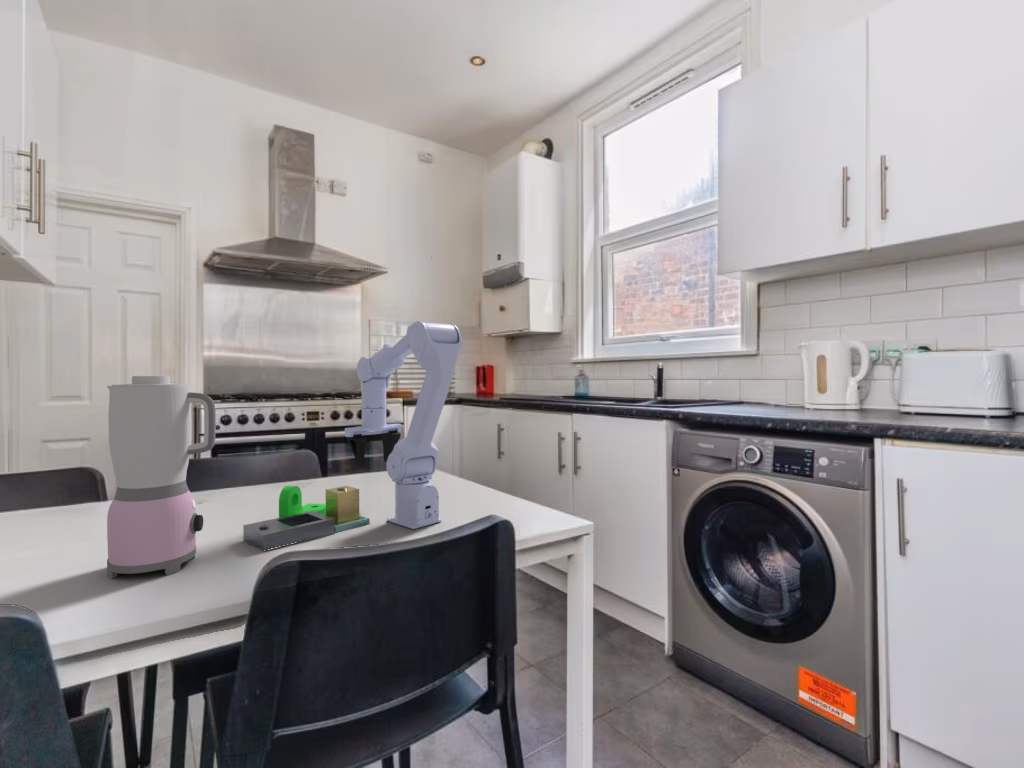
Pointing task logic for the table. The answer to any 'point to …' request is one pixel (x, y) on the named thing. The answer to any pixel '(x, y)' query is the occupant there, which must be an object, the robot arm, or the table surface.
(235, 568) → the table surface
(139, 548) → the blender
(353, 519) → the block
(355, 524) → the tray
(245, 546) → the table surface
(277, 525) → the grey slotted block
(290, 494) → the mechanical part
